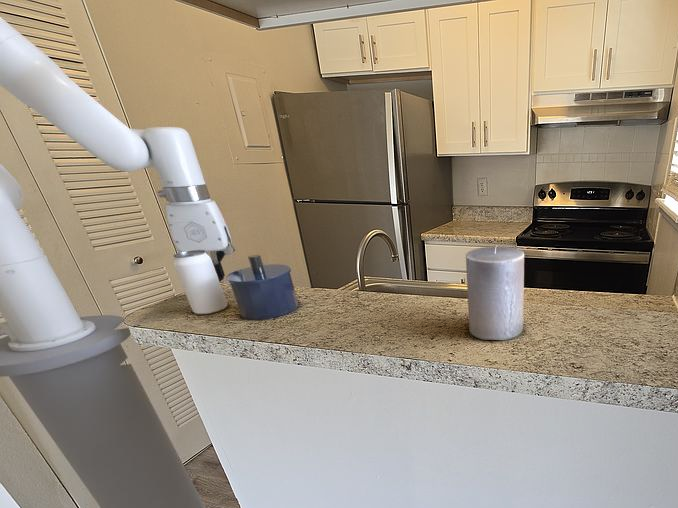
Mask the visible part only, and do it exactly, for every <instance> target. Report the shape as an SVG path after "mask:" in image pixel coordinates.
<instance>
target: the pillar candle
mask: <svg viewBox="0 0 678 508" xmlns="http://www.w3.org/2000/svg"><path fill="white" fill-rule="evenodd" d="M524 252H525V251H523V250H521V249H518V248H516V247H509V246H498V245H497V244H495V246H485V247H477V248H475V249H471V250H469V251H468V252H466V254H465V265H466V285H467V286H466V289H467V309H468V330H469V333H470V334H471V335H472V336H474V337H475V338H478V339H480V340H486V341H488V340H489V341H490V340H491V341H492V340H493V341H506V340H510V339H513V338H516V337H518V336H519V335H520V334H522V332H523V330H524V295H525V294H524V293H525V292H524V290H525V289H524V288H525V253H524Z"/></svg>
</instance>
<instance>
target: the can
mask: <svg viewBox="0 0 678 508" xmlns="http://www.w3.org/2000/svg"><path fill="white" fill-rule="evenodd" d="M207 254H208V253H207ZM207 254H206V251H205V250H191V251H185V252H177V253H175V254H173V255H172V256H173V258H174V260H173V266H174V268H175V271H176V274H177V276H178V278H179V281H180V283H181V286H182V288H183V291H184V293H185V297H186V298H187V300H188V303H189V305H190V308H191V310H192V312H193V313H194V314H196V315H210V314H215V313H219V312H221V311H224V310H225V309H226V308H227V306H228V302H227V299H226V296H225V294H224V290H223V288H222V285H221V282H219V279H218V276H217V274H216V271H215V268H214V265H213V263H212V260H211V256H210V255H209V254H208V255H207Z"/></svg>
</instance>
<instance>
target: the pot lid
mask: <svg viewBox="0 0 678 508" xmlns="http://www.w3.org/2000/svg"><path fill="white" fill-rule="evenodd" d="M247 259H248V262H249V265H250V266H249V267H248V266H247V267H244V268H241V269H237V270H235V271H233V272H230V273H229V274H227V275H225V279H226V281H227V282H228V283H229V284H230V283H234V284H252V283H260V282H266V281H270V280H274V279H278V278H281V277H283V276H285V275H287V274H289V273H290V274H291V271H292V269H291V266H289V265H287V264H286V265H285V264H276V263H275V264H264V263H263V260H262V257H261V255H260V254H251V255H248V256H247Z"/></svg>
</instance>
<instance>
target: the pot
mask: <svg viewBox="0 0 678 508" xmlns="http://www.w3.org/2000/svg"><path fill="white" fill-rule="evenodd" d="M229 285H230V288H231V290H232V293H233V296H234V299H235V302H236V305H237V308H238V311H239V313H240V316H241V317H242V318H244V319H247V320H255V321H256V320H259V321H260V320H269V319H273V318H278V317H282V316H284V315H287V314H289V313H291V312H293V311H295V310H296V309H297V308H298V306H299V303H298V302H299V301H298V298H297V294H296V291H295V285H294V283H293V279H292V275H291V272H290V273H289V274H287V275H285V276H283V277H281V278H278V279H274V280H270V281H266V282H260V283H252V284H234V283H230V282H229Z"/></svg>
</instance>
